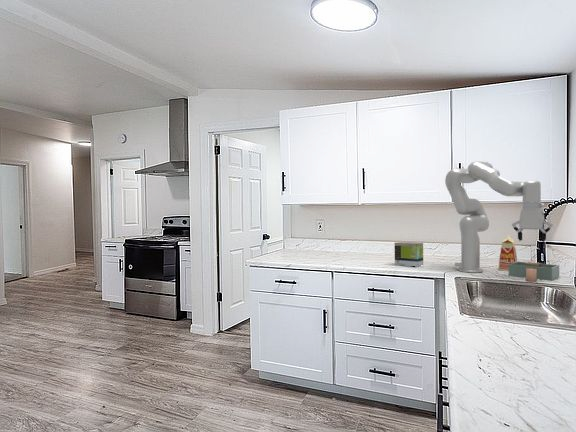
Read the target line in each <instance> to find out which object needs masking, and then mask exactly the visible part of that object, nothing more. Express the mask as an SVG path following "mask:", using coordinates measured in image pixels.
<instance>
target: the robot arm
mask: <svg viewBox="0 0 576 432" xmlns="http://www.w3.org/2000/svg"><path fill="white" fill-rule="evenodd" d="M500 172H501V171H500V170H498V169H496V168H494V167H493V164H492V163H489V162H488V161H473V162H470V164H469V165H468V167H467V168H453V169H450V170H449V171H447V174H446V175H445V179H444V180H445V187H446V189H447V191H448V193H449V195H450V197H451V200H452V203H453V205H454V208H455V211H456V213H457V214H459V215H462V216H463V217H462V218H461V219H460V221H459V231H460V238H461V239H460V242H461V243H460V244H461V248H460V249H461V257H460V258H461V261H460V262H454V266H455V267H459V268H458V271H460V272H462V273H463V272H464V273H483V271H484V269H482V268H481V266H480V265H481V264H480V263H481V261H480V260H481V259H480V258H481V254H480V253H481V252H480V251H481V245H480V243H481V241H480V236H479V232H480V233H481V232H485V231H487V230H488V229H489V227H490V220H489V217H488V216H487V213H486V211H485V207H484V205H483V204H482V203H481V201H480V200H479V199H476V198H470V197H469V196H468V194H467V191H466V189H465V188H464V187H463V186H462V184H472V183H475V182H478V181H481V182H483V183H485V184H487V185H488V186H489V187H490V189H492V190H493V191H495V192H497V193H499V194H500V195H502V196H505V197H522V209H520V214H519V220H517V221H515V222H512V223H511V226H512V228H513V229H514V230H515V232H516V233H517V239H518V241H519V242H520V241H521V242H522V241H523V231H524V230H540V232H542V233H541V242H545V241H546V240H547V233H548V232H549V231H550V230H551V229H552V228H553V226H554V224H553V223H551V222H548V221H546V220H545V214H544V209H543V208H542V207H545V203H542V202H541V198H542V197H541V196H542V195H541V194H542V193H541V192H542V191H541V188H542V187H541V182H540V181H539V180H527V181H526V180H525V181H513V180H507V179H505V178H503V177H501V173H500ZM517 225H518V226H519V227H517ZM545 226H547V228H546V229H545Z"/></svg>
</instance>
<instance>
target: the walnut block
mask: <svg viewBox="0 0 576 432" xmlns="http://www.w3.org/2000/svg"><path fill="white" fill-rule="evenodd" d="M542 264H543V263H542V262H533V261H532V262H530V261H528V262H527V263H525V266H534V267H542Z"/></svg>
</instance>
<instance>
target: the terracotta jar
mask: <svg viewBox="0 0 576 432" xmlns="http://www.w3.org/2000/svg"><path fill="white" fill-rule="evenodd" d="M537 280H538V279H537V269H533V268H526V277H525V281H526V282H529V283H536V282H537Z"/></svg>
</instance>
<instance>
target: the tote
mask: <svg viewBox="0 0 576 432" xmlns="http://www.w3.org/2000/svg"><path fill="white" fill-rule="evenodd" d="M525 263H528V262H525V261H517V262H515V263H511V264H509V271H508V276H511V277H518V278H526V268H533V269H537V280H542V281H543V280H545V281H553V280H556V279H558V278H560V265H559V264H550V263H549V264H548V263H542V267H534V266H525Z"/></svg>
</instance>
